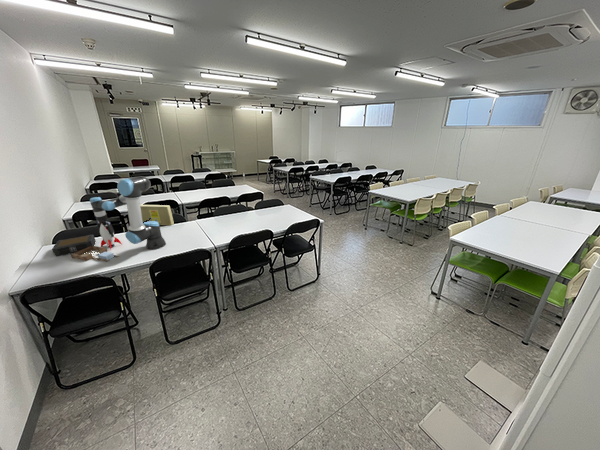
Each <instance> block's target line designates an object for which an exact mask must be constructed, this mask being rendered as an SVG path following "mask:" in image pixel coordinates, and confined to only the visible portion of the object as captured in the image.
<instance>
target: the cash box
mask: <svg viewBox="0 0 600 450" xmlns="http://www.w3.org/2000/svg"><path fill="white" fill-rule="evenodd" d="M95 242H96V238H95V236H94V234H87V235H82V236H76V237H70V238H66V239H59V240H57V241H56V243H54V245H53V247H52V249H51V250H52V252H53V254H54V256H55V257H61V256H66V255H71V254H73V253H75V252H78V251H80V250H83V249H85V248H88V247H90V246H94V245H95V246H96V243H95Z"/></svg>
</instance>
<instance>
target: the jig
mask: <svg viewBox="0 0 600 450" xmlns="http://www.w3.org/2000/svg"><path fill="white" fill-rule="evenodd" d="M91 250H92V251H93V250H95V251H96V250H98V251H99V253H100V254H101V253H103V252H108V249H107V248H106V247H104V246H103V247H101V246H98V245H95V246H90V247H88V248H85V249H83V250H80V251H78V252H75V253H72V254H70V257H71V258H72V259H74V260H81V261H84V262H87V261H91V260H92V259H93V260H96V259H97V261H101V260H102V261H101V262H107V263H109V262H110V259H109V260H105V259H100V258H99V257H96V256H92V254H91V253H93V252H92V251H91ZM86 252H87V253H86ZM96 252H97V251H96ZM84 253H85V254H84ZM89 253H90V254H89ZM94 253H95V252H94ZM97 253H98V252H97ZM93 255H94V254H93ZM114 256H115V257H114V258H119V255H117V254H114ZM108 261H109V262H108Z"/></svg>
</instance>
